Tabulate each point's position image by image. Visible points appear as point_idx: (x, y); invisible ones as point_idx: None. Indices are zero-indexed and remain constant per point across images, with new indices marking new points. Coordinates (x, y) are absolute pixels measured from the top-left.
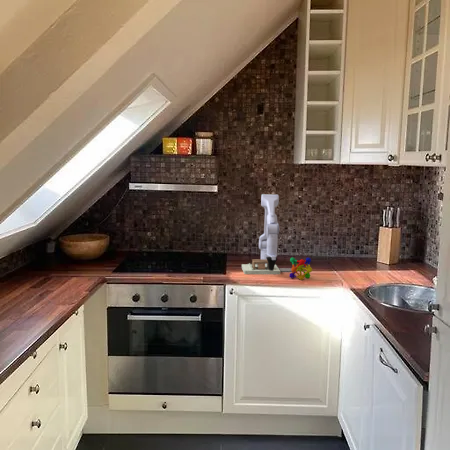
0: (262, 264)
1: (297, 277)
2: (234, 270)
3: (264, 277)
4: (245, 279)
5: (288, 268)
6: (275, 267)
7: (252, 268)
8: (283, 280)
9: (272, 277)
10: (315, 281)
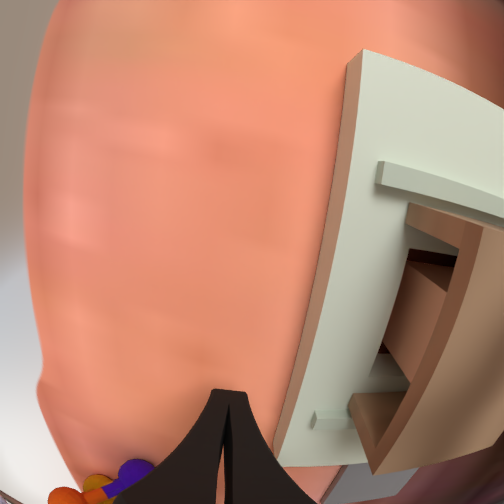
0: None
1: (111, 481)
2: (495, 46)
3: (150, 274)
4: (87, 35)
5: (398, 487)
6: None
7: (423, 188)
8: (63, 394)
9: (152, 355)
10: None
